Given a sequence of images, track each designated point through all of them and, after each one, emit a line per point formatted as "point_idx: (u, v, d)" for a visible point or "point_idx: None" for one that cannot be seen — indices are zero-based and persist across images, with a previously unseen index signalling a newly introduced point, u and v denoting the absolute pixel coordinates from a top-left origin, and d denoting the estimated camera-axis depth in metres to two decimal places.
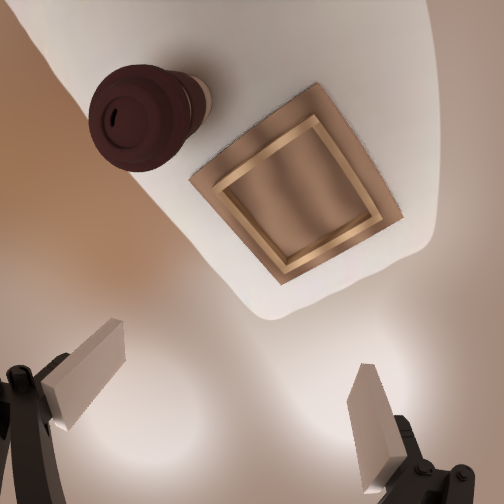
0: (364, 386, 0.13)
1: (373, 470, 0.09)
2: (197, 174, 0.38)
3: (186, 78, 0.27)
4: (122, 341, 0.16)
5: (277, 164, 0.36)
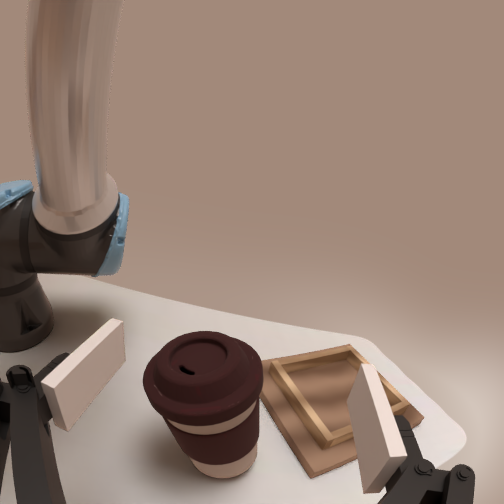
0: (364, 386, 0.13)
1: (373, 470, 0.09)
2: (310, 462, 0.28)
3: None
4: (122, 341, 0.16)
5: (308, 401, 0.37)
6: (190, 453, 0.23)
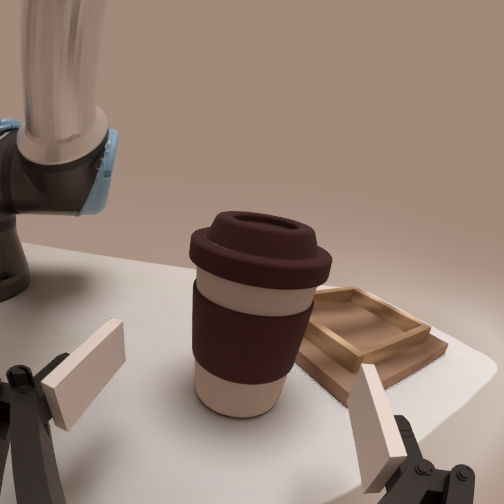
0: (364, 386, 0.13)
1: (373, 470, 0.09)
2: (343, 385, 0.25)
3: None
4: (122, 341, 0.16)
5: None
6: (225, 361, 0.20)
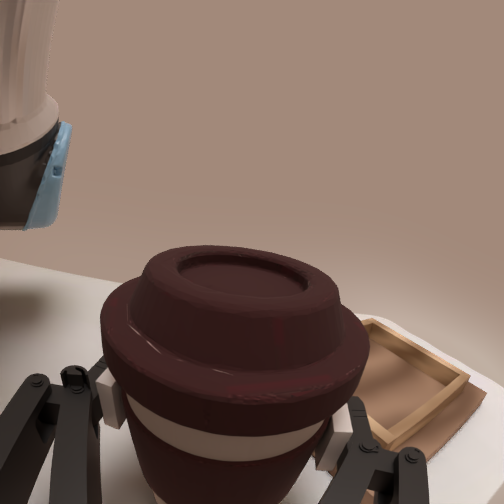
0: None
1: (323, 446, 0.11)
2: None
3: None
4: None
5: None
6: (184, 501, 0.09)
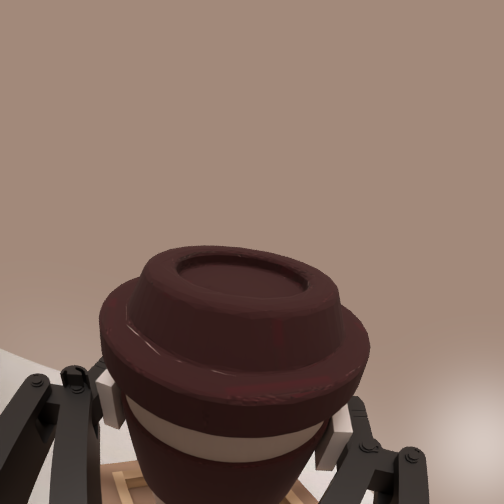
0: None
1: (323, 446, 0.11)
2: None
3: None
4: None
5: None
6: (183, 502, 0.09)
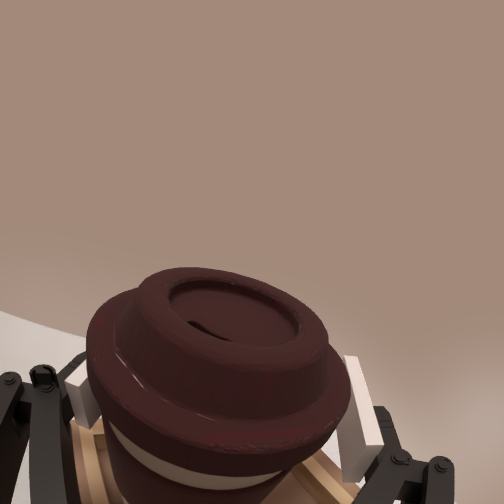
0: None
1: (351, 459, 0.10)
2: None
3: None
4: None
5: None
6: None
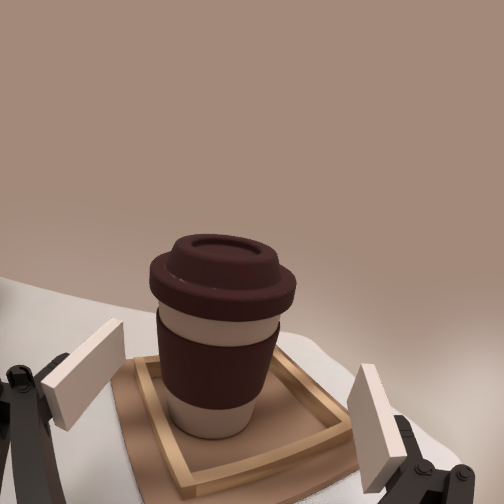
0: (364, 386, 0.13)
1: (373, 470, 0.09)
2: None
3: None
4: (122, 341, 0.16)
5: None
6: (192, 389, 0.19)
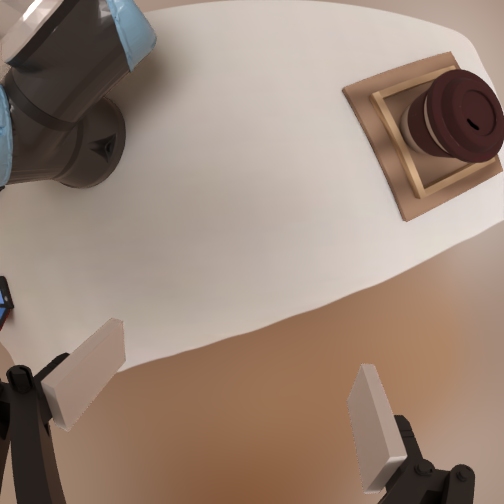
0: (364, 386, 0.13)
1: (373, 470, 0.09)
2: (404, 211, 0.38)
3: None
4: (122, 341, 0.16)
5: None
6: (434, 154, 0.31)
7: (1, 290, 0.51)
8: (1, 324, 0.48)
